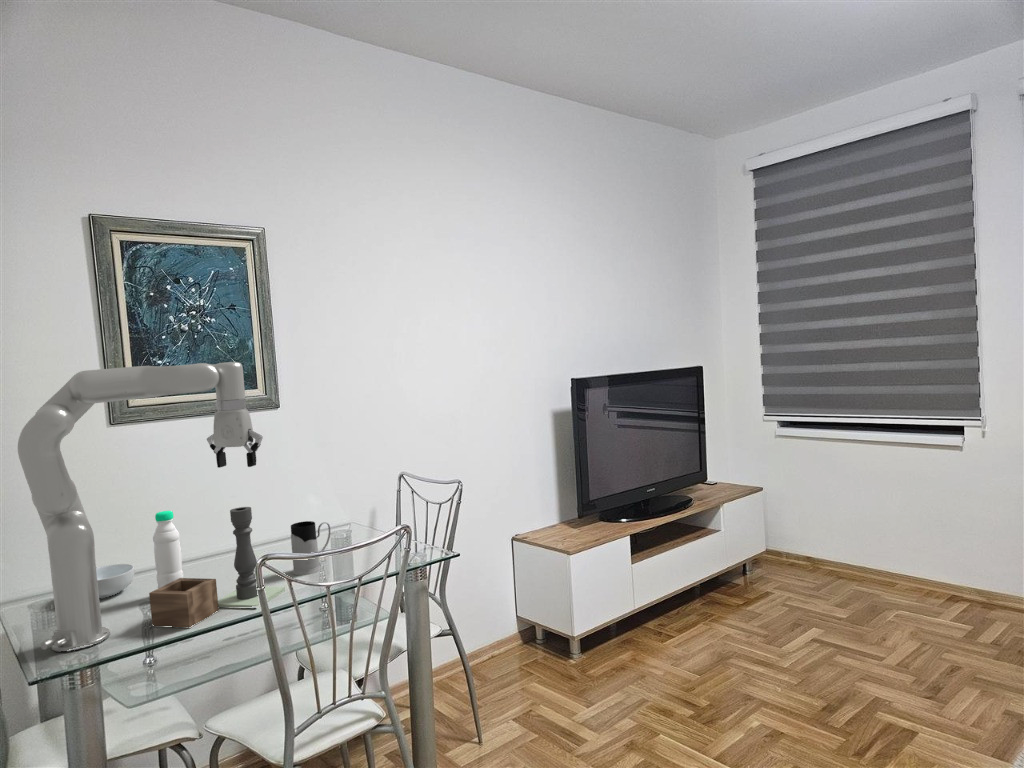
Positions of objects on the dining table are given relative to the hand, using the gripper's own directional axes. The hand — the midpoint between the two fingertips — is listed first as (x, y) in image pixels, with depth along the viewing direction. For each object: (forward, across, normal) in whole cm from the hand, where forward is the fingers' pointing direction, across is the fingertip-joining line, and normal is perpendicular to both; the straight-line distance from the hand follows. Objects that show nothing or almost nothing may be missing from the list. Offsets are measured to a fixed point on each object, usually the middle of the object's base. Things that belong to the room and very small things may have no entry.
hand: (236, 466), depth 197 cm
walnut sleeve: (+38, -9, -15) cm, 42 cm away
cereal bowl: (+39, -50, 0) cm, 63 cm away
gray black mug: (+38, +5, +27) cm, 47 cm away
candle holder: (+37, 0, 0) cm, 37 cm away
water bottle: (+38, -27, +1) cm, 47 cm away
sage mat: (+38, 0, 0) cm, 38 cm away
